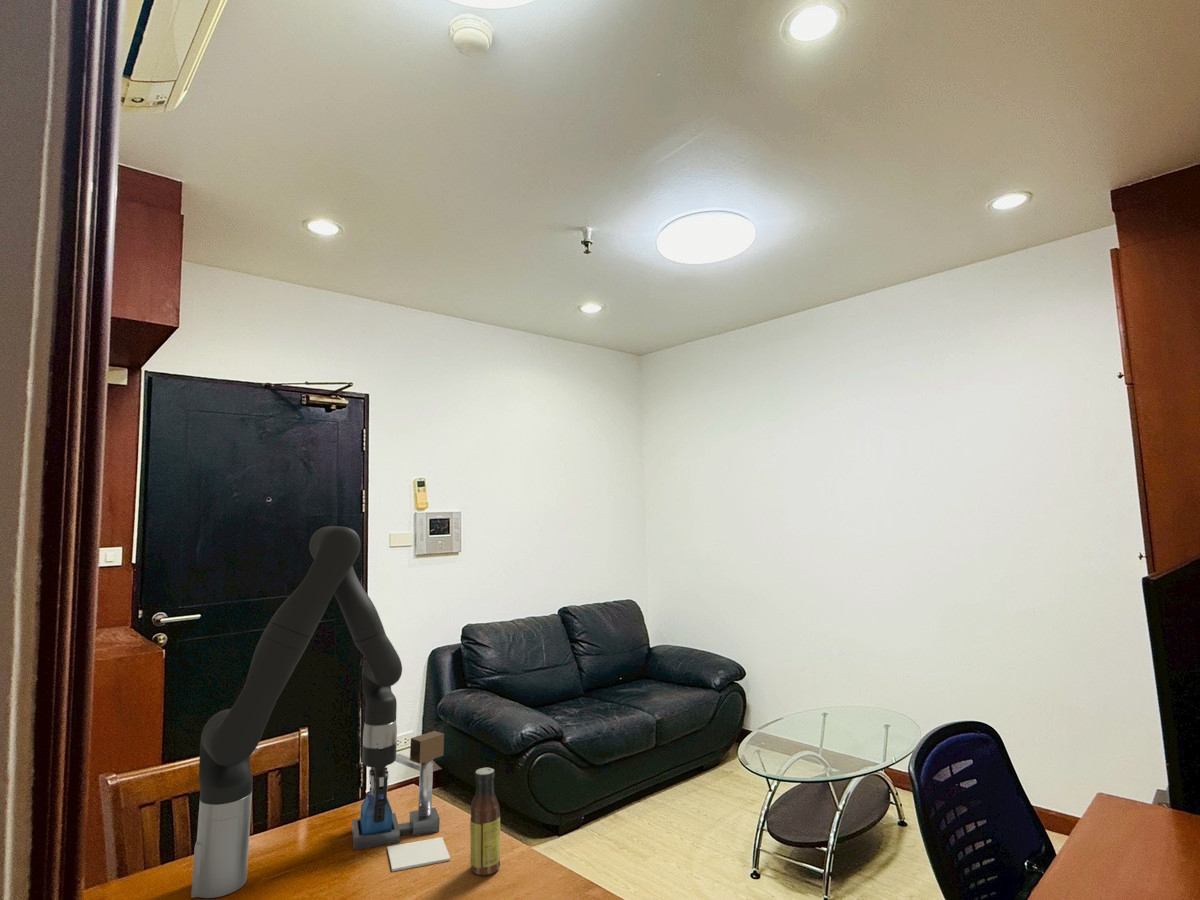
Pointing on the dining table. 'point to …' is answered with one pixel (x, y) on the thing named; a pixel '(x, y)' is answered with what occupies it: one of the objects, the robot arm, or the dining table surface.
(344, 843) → the dining table surface
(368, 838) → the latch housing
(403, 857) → the pad
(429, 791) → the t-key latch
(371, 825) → the perfume bottle
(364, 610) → the robot arm
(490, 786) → the sauce bottle
